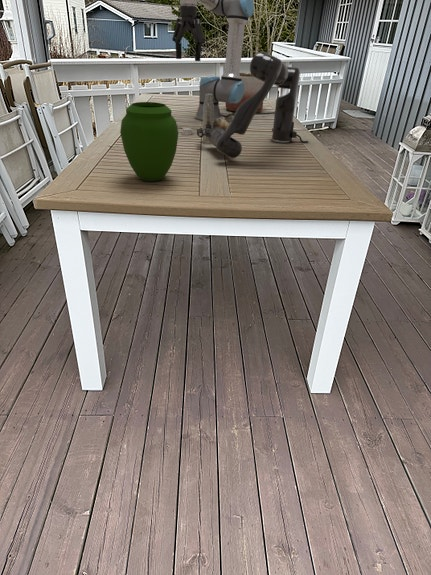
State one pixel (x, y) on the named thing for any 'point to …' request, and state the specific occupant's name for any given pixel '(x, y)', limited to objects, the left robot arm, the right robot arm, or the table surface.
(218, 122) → the seashell
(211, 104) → the bottle
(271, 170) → the table surface
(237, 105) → the planter
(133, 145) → the vase
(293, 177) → the table surface
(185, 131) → the cap
